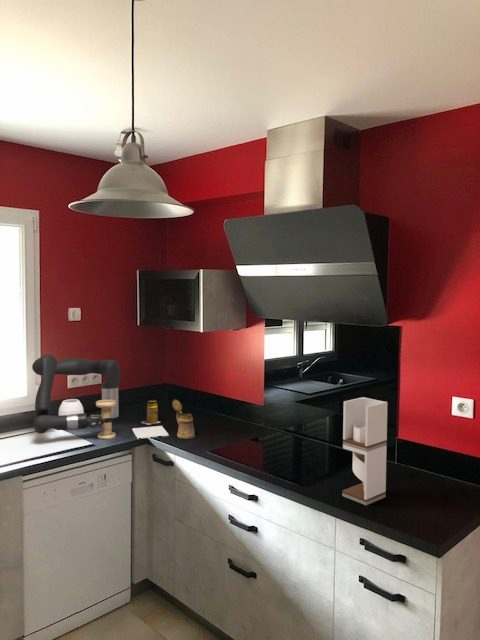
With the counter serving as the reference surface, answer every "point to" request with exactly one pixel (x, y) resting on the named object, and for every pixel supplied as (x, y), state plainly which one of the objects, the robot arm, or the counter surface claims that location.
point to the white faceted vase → (70, 407)
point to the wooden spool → (106, 413)
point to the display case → (366, 447)
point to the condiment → (152, 412)
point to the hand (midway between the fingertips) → (111, 418)
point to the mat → (149, 432)
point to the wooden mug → (183, 422)
